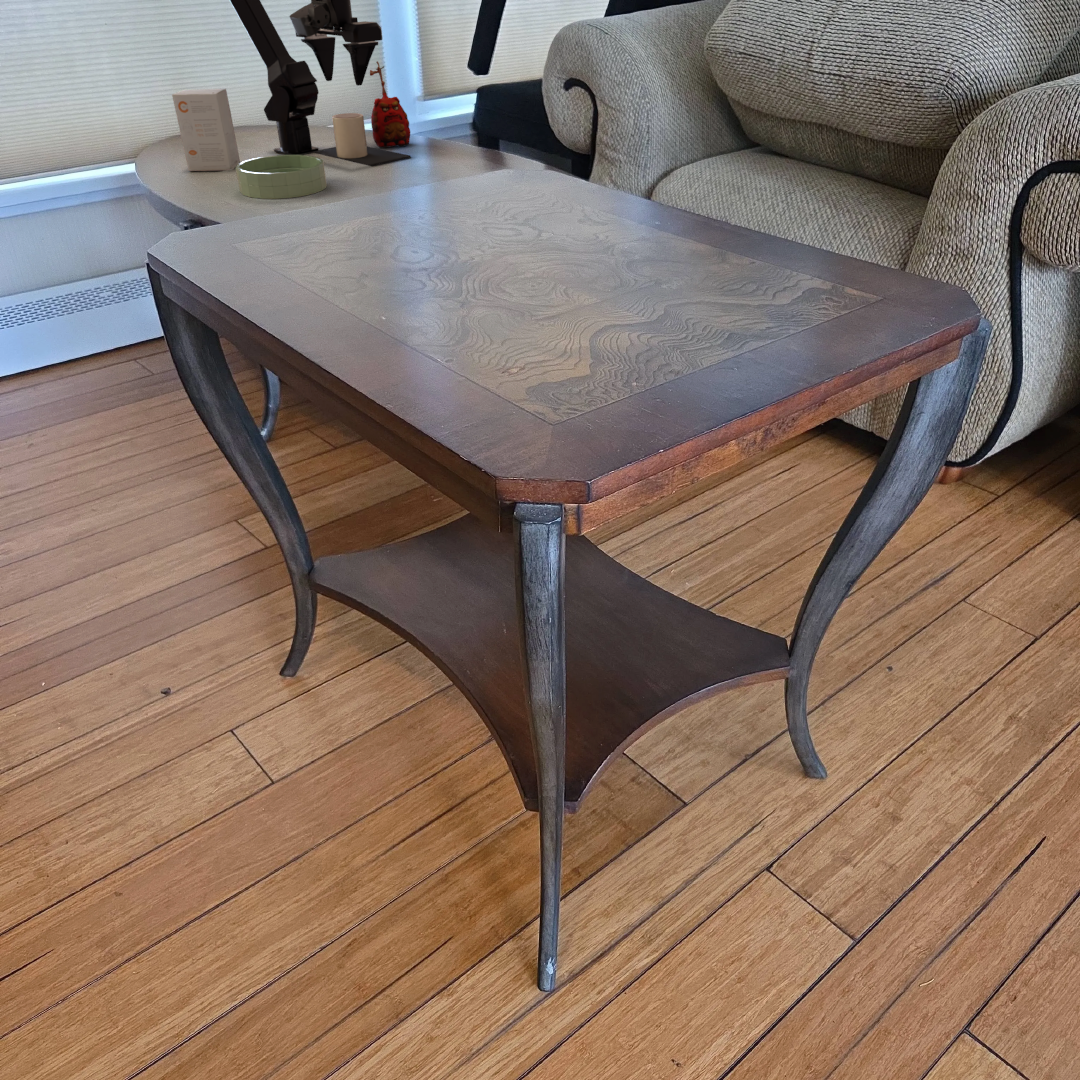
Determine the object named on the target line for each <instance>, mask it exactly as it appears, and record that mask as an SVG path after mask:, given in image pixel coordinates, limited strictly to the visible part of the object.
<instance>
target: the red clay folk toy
mask: <svg viewBox="0 0 1080 1080" xmlns="http://www.w3.org/2000/svg"><path fill="white" fill-rule="evenodd" d="M376 64H377V67H376V68H375V70H372V69H370V70H369V76H374V75H375V74H378V75H379V79H380V84H381V89H382V90H381V91H382V92H381V93H382V97H381V98H379V97H377V98H375V99H374V102H373V108H372V111H371V115H370V116H371V117H370V120H371V121H370V122H371V129H372V138H373V141H374V143H375V145H376V146H378V147H379V148H381V149H383V148H389V147H390V148H392V147H406V146H408V145H410V139H411V128H410V121H409V119H408V114H407V112H405V110H404V108H403V105H401V101H400V99H399V98H398V96H392V97H390V96H389V97H388V94H387V91H386V89H385V81H384V80H383V73H382V70H383V69H384V68H385V66H384V65H383V66H382V67H381V66H380V63H379V60H378V61H376Z"/></svg>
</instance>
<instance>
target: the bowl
mask: <svg viewBox="0 0 1080 1080" xmlns="http://www.w3.org/2000/svg"><path fill="white" fill-rule="evenodd" d="M235 172H236V178H237V179H236V180H237V184H238V189H239V193H240V194H241V195H243V196H245V197H249V198H253V199H262V200H279V199H280V200H281V199H292V198H301V197H305V196H310V195H314V194H317V193H320V192H322V191H324V190H325V189H326V188H327V184H328V183H327V178H326V177H327V176H326V170H325V162H324V160H323V159H322V158H320V157H317V156H313V155H308V154H306V155H287V154H277V155H269V156H259V157H253V158H250V159H246V160H243V161H240V163H239V164H237V165H236V167H235Z"/></svg>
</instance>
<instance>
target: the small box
mask: <svg viewBox="0 0 1080 1080" xmlns="http://www.w3.org/2000/svg"><path fill="white" fill-rule="evenodd" d="M171 97H172V101H173V106H174V110H175V115H176V119H177V125H178V128H179V133H180V137H181V143H182V147H183V152H184V156H185V157H184V158H185V160H186V165H187V170H188V172H209V171H210V172H211V171H213V172H214V171H218V172H219V171H229V170H234V169H236V165H237V164H239V163H241V159H240V154H239V150H238V143H237V138H236V132H235V127H234V122H233V117H232V112H231V108H230V102H229V96H228V91H227V88H193V89H192V88H191V89H190V88H189V89H188V88H187V89H185V88H183V89H181V90H179V91H176V92H174V93H172V94H171Z"/></svg>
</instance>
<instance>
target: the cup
mask: <svg viewBox="0 0 1080 1080" xmlns="http://www.w3.org/2000/svg"><path fill="white" fill-rule="evenodd" d="M331 120H332V127H333V134H334V135H333V136H334V144H335V147H336V151H337V156H338V157H340V158H360V157H364V156H367V154H368V153H367V144H368V143H367V135H366V128H365V117H364V114H362V113H358V112H346V113H338V114H334V115H332V116H331Z"/></svg>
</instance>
